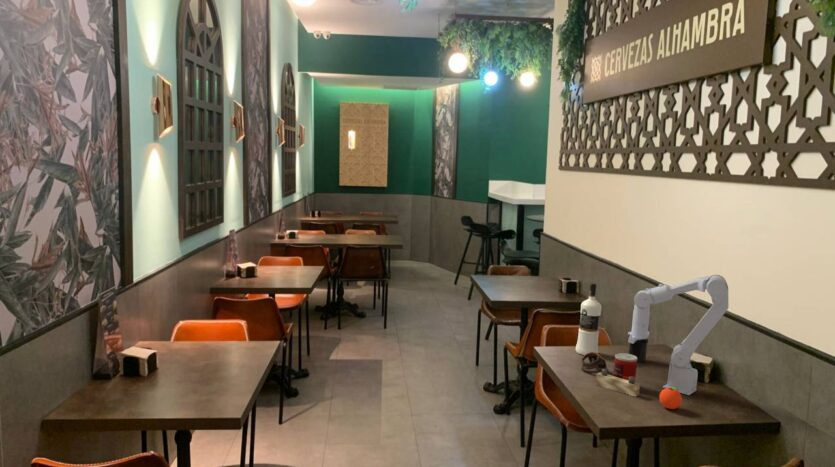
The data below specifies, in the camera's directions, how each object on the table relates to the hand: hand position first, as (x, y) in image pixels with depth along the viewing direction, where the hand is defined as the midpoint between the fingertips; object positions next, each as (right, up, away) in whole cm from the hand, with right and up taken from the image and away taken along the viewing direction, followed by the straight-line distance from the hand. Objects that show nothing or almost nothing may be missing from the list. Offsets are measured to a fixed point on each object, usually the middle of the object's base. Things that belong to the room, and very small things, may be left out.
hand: (636, 358), depth 233 cm
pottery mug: (-14, -7, +9) cm, 18 cm away
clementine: (+3, -12, -24) cm, 27 cm away
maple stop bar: (-11, -9, -10) cm, 18 cm away
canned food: (-7, -9, -6) cm, 13 cm away
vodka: (-10, -4, +31) cm, 33 cm away
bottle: (+9, -6, +26) cm, 28 cm away
